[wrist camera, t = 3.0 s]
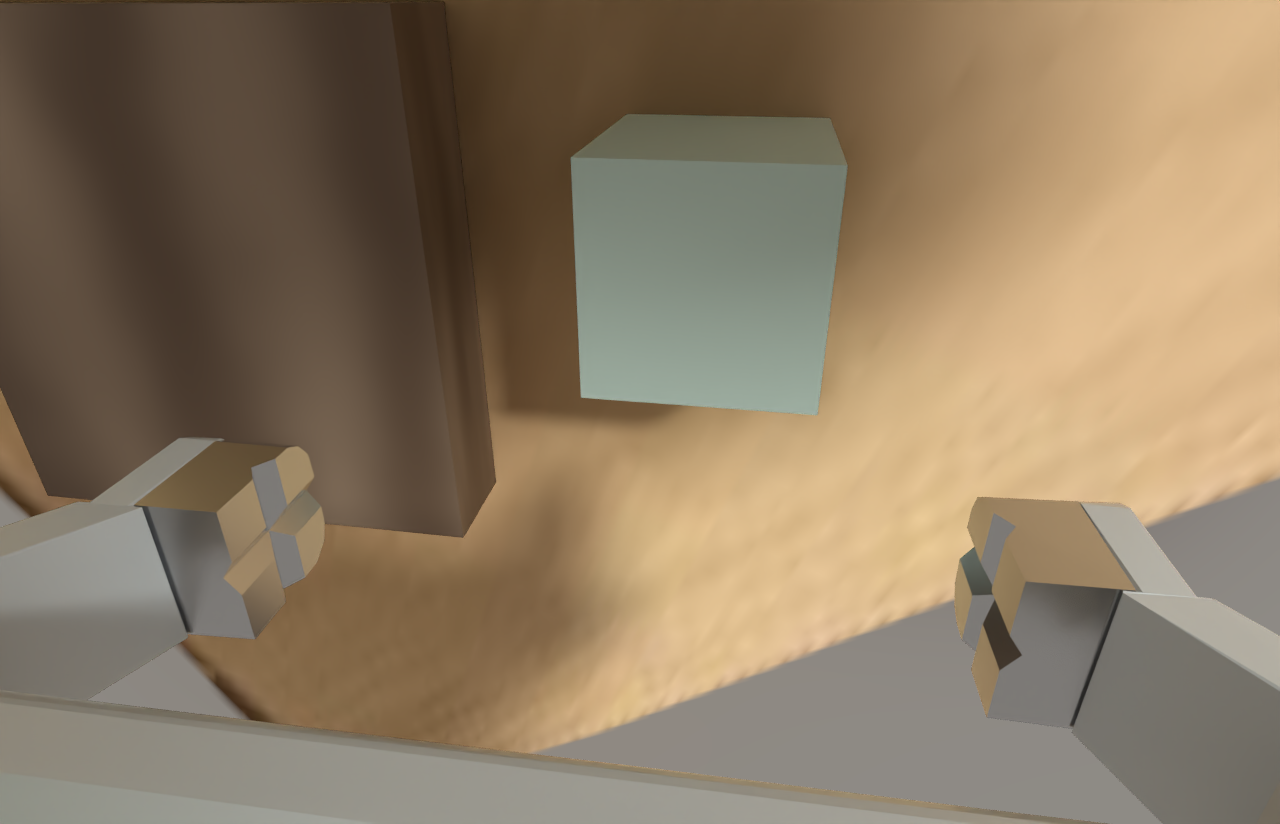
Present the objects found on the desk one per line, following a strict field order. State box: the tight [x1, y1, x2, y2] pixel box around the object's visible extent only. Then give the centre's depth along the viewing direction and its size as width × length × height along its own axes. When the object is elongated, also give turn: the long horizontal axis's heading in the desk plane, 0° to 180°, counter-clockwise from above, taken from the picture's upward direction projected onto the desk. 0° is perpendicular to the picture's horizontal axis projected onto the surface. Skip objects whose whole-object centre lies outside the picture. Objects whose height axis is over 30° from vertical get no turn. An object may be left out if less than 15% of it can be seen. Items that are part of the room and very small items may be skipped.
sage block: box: [571, 114, 848, 415], centre depth 18 cm, size 5×5×6 cm
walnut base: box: [0, 2, 496, 538], centre depth 22 cm, size 14×14×3 cm
